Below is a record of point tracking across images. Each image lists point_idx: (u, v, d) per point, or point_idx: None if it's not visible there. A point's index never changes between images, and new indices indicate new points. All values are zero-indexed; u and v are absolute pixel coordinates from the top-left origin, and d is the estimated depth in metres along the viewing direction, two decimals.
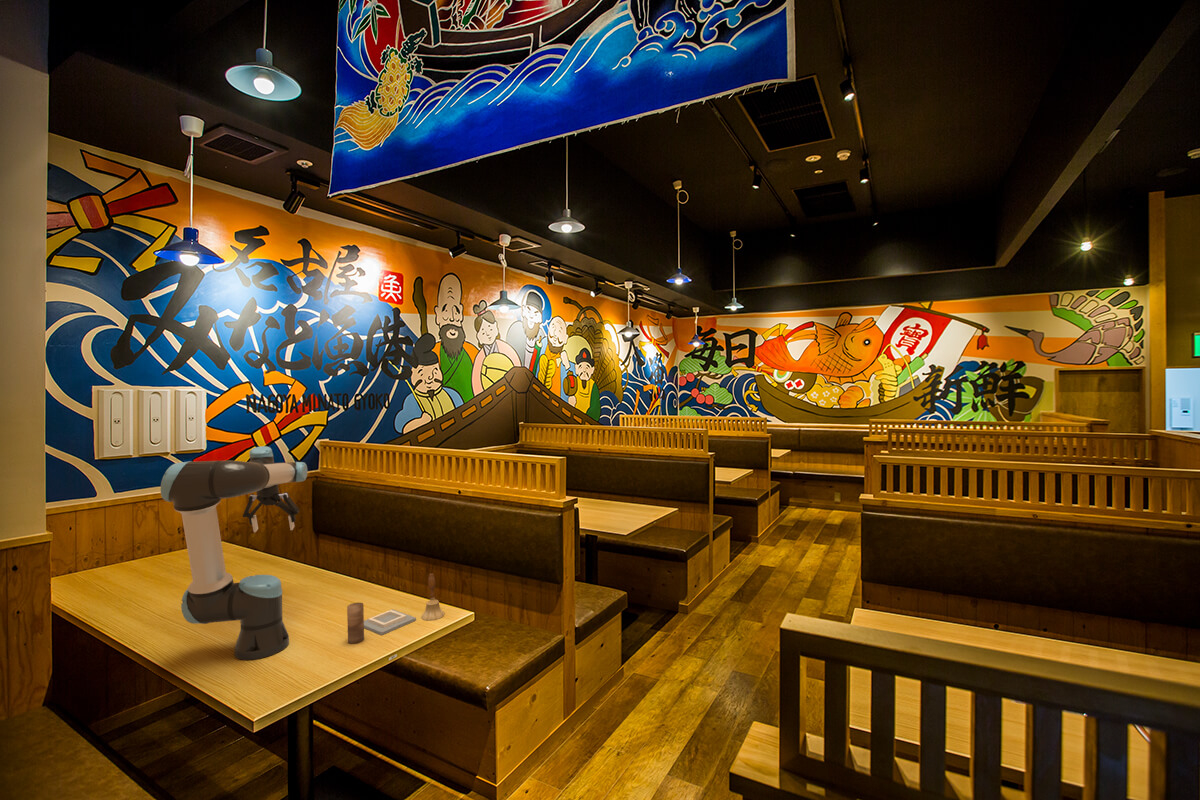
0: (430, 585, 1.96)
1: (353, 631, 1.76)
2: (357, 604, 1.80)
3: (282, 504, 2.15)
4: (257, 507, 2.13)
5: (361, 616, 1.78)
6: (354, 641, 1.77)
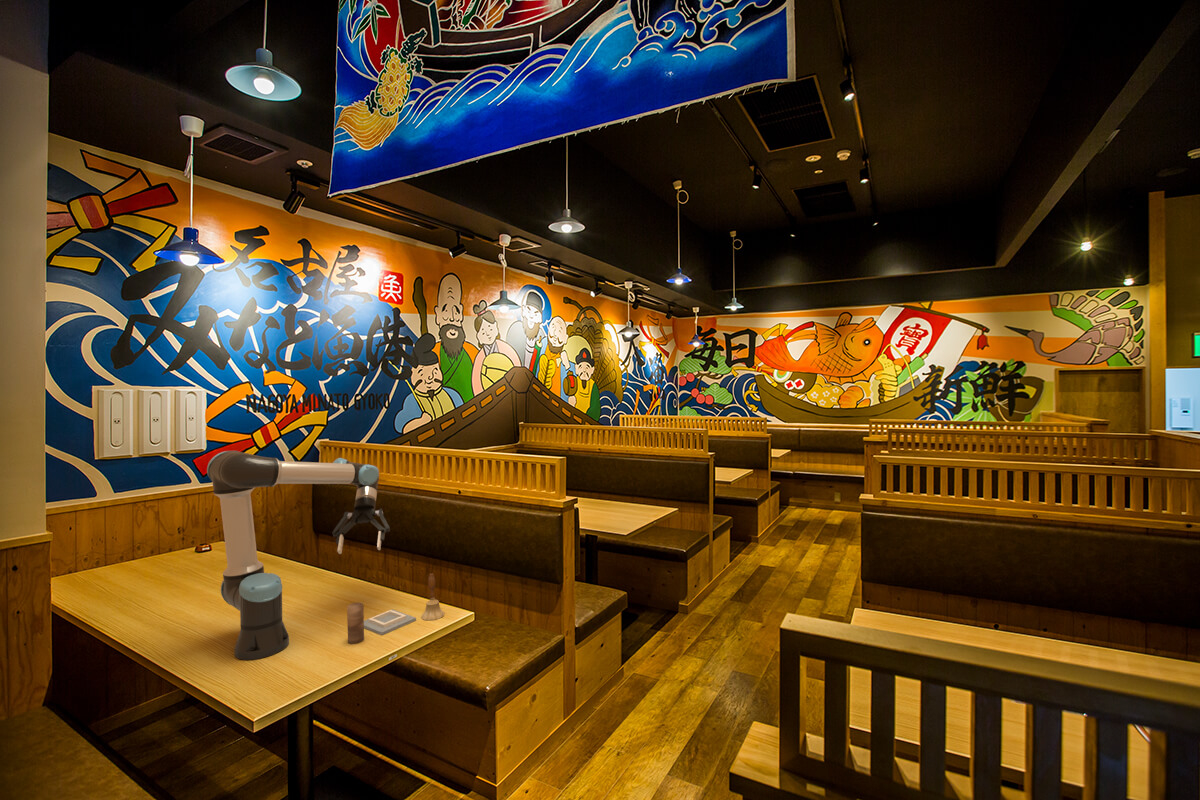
0: (430, 585, 1.96)
1: (353, 631, 1.76)
2: (357, 604, 1.80)
3: (375, 520, 2.04)
4: (350, 522, 2.02)
5: (361, 616, 1.78)
6: (354, 641, 1.77)
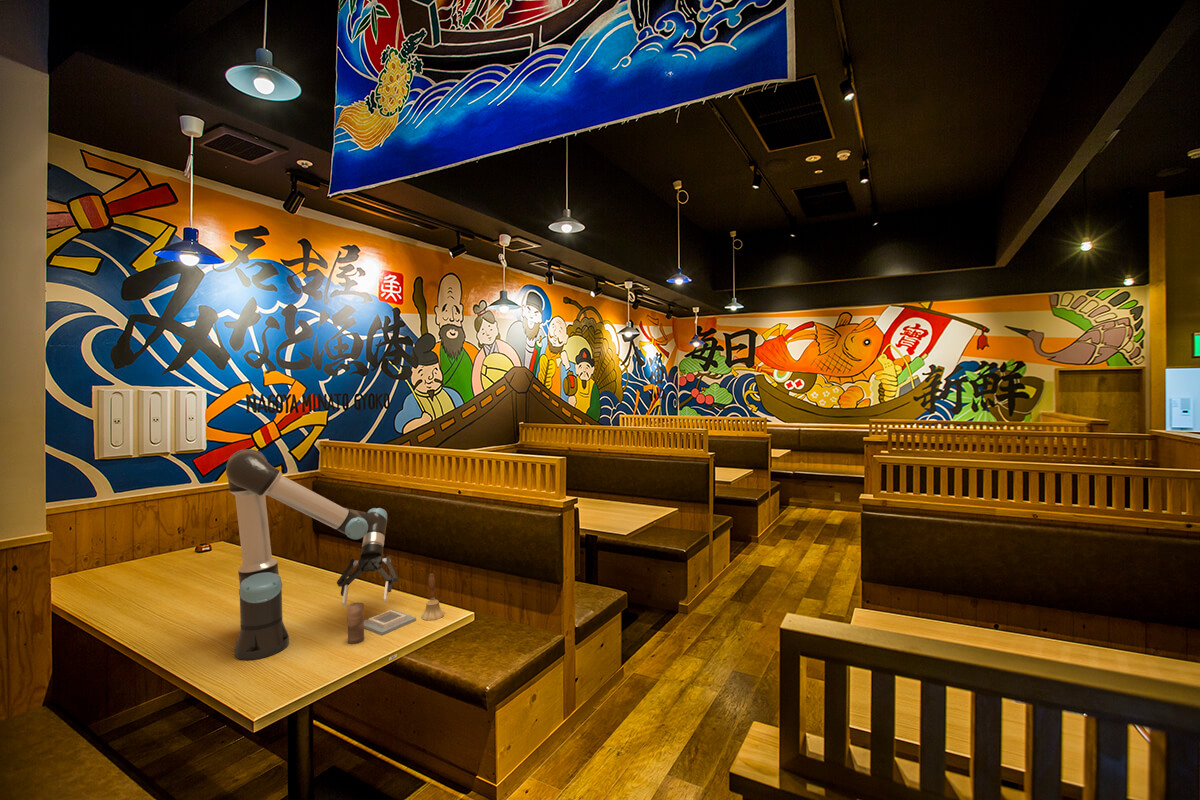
0: (430, 585, 1.96)
1: (353, 631, 1.76)
2: (357, 604, 1.80)
3: (382, 569, 1.94)
4: (356, 571, 1.91)
5: (361, 616, 1.78)
6: (354, 641, 1.77)
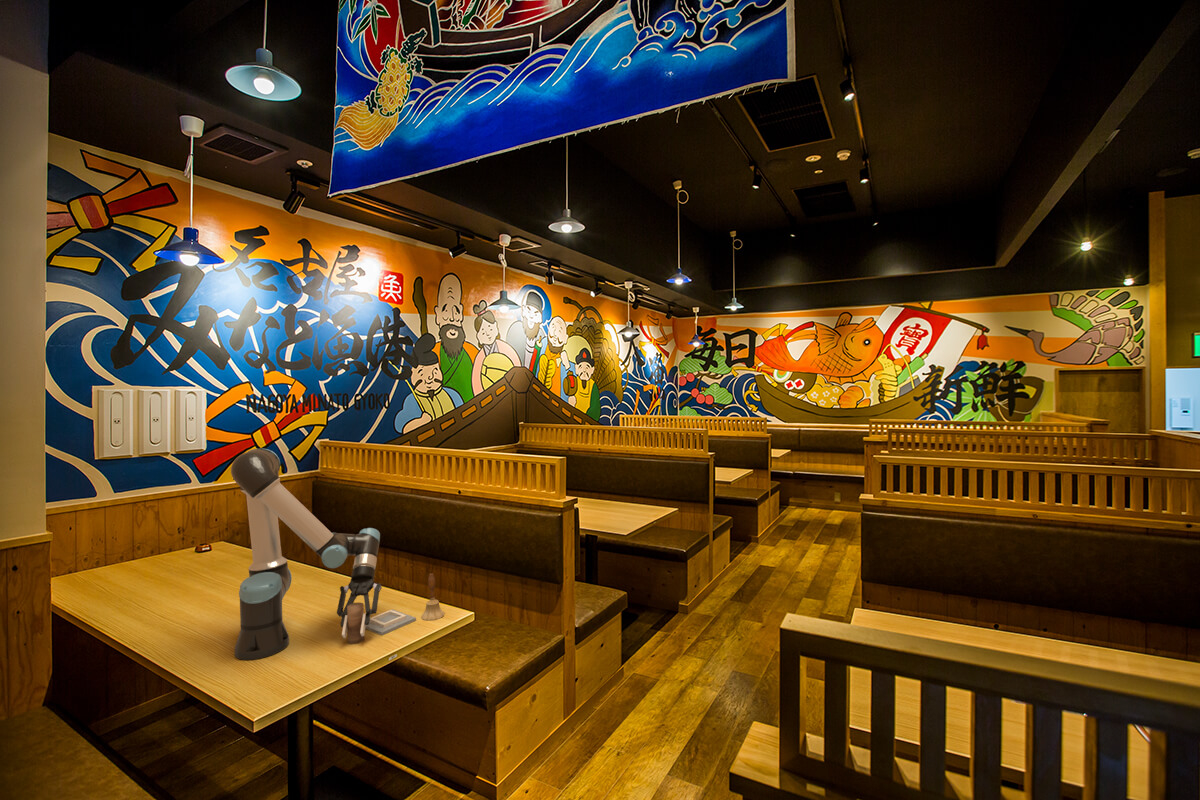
0: (430, 585, 1.96)
1: (353, 631, 1.76)
2: (357, 604, 1.80)
3: (368, 597, 1.84)
4: (350, 597, 1.82)
5: (361, 616, 1.78)
6: (354, 641, 1.77)
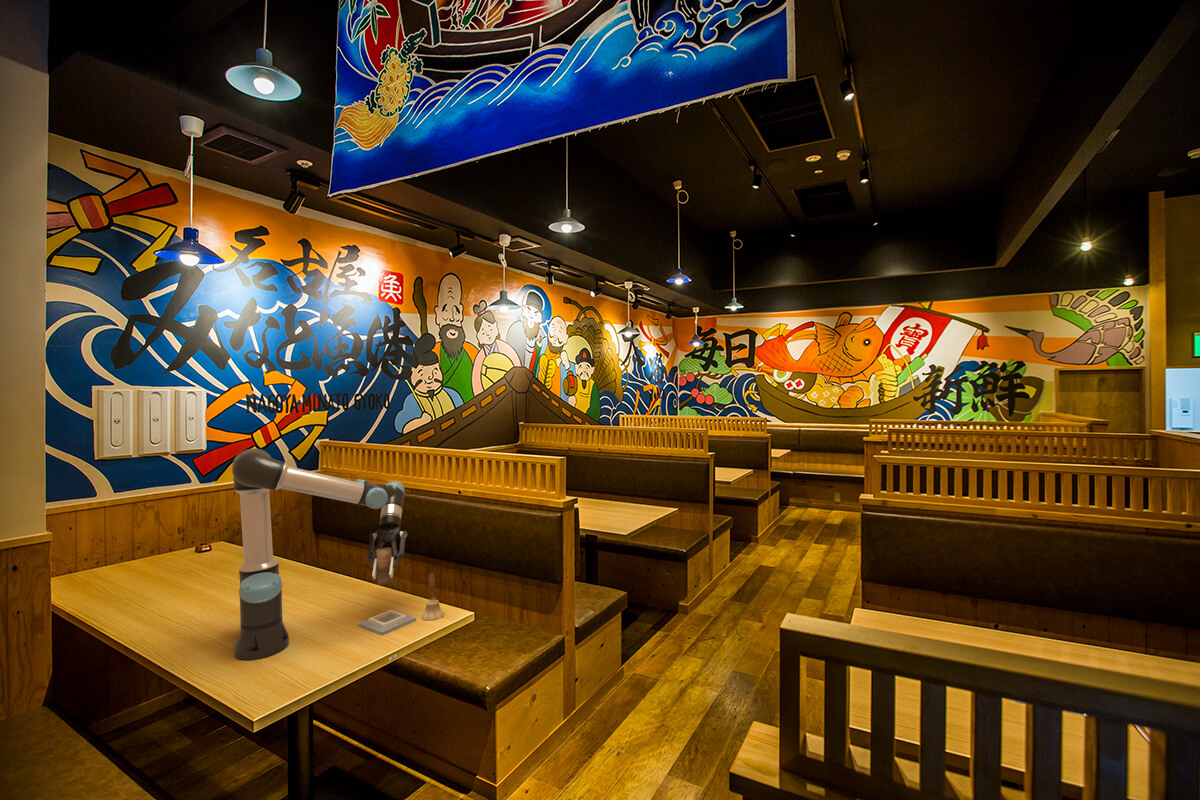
0: (430, 585, 1.96)
1: (382, 573, 1.88)
2: (385, 548, 1.91)
3: (395, 543, 1.96)
4: (379, 543, 1.94)
5: (389, 559, 1.90)
6: (383, 582, 1.88)
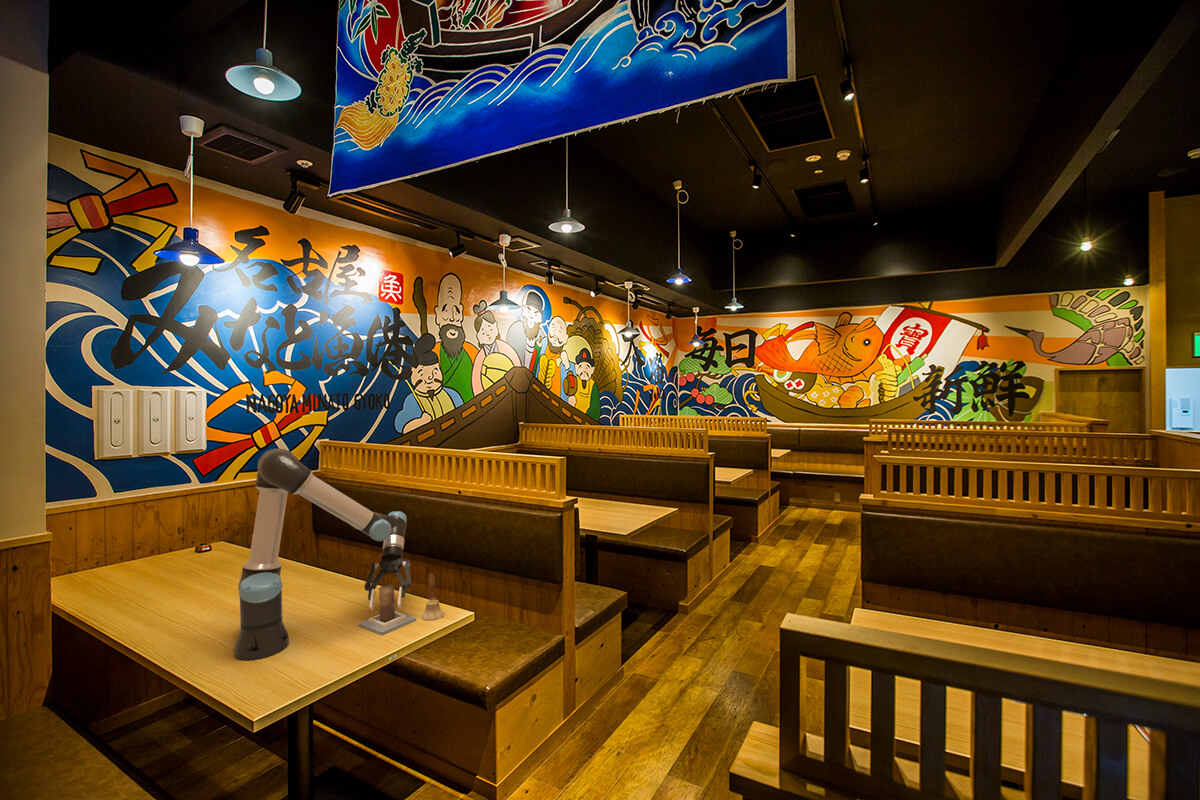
0: (430, 585, 1.96)
1: (385, 611, 1.90)
2: (388, 586, 1.93)
3: None
4: (379, 574, 1.96)
5: (392, 597, 1.91)
6: (386, 620, 1.90)
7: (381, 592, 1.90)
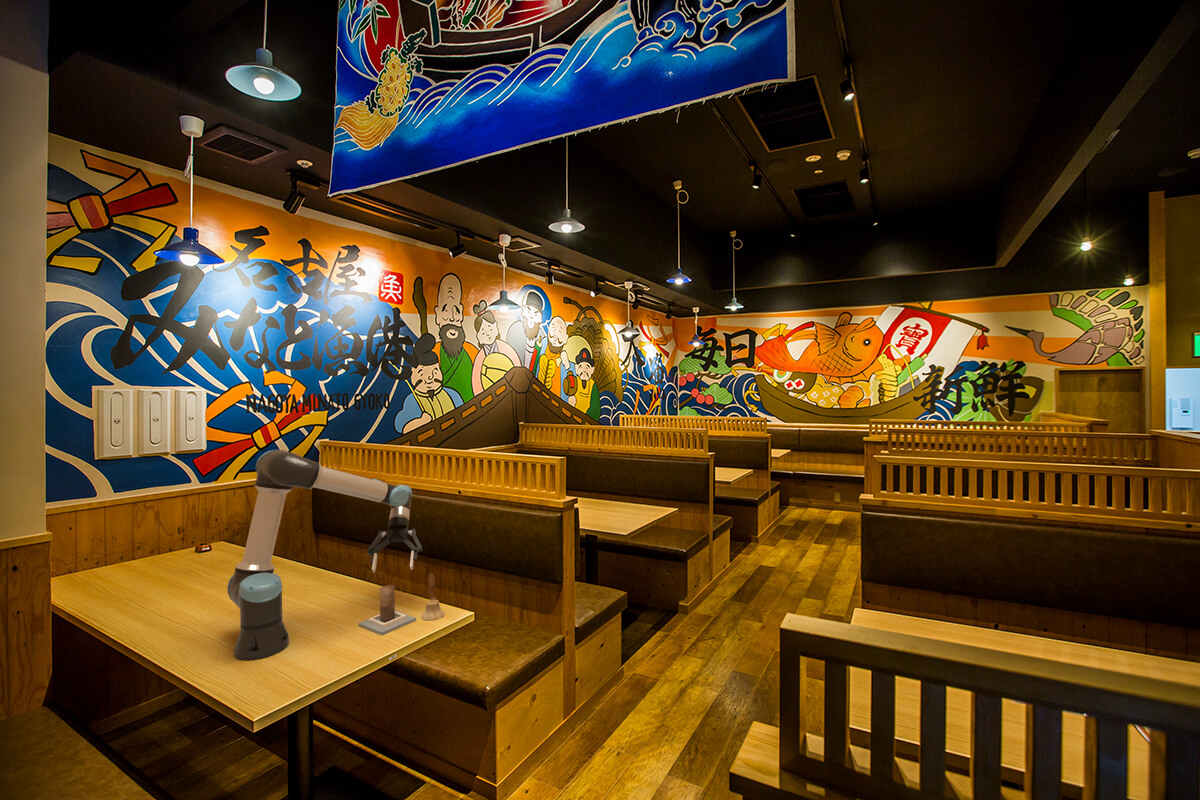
0: (430, 585, 1.96)
1: (385, 611, 1.90)
2: (388, 586, 1.93)
3: None
4: (384, 541, 2.07)
5: (393, 597, 1.91)
6: (386, 620, 1.90)
7: (381, 592, 1.90)
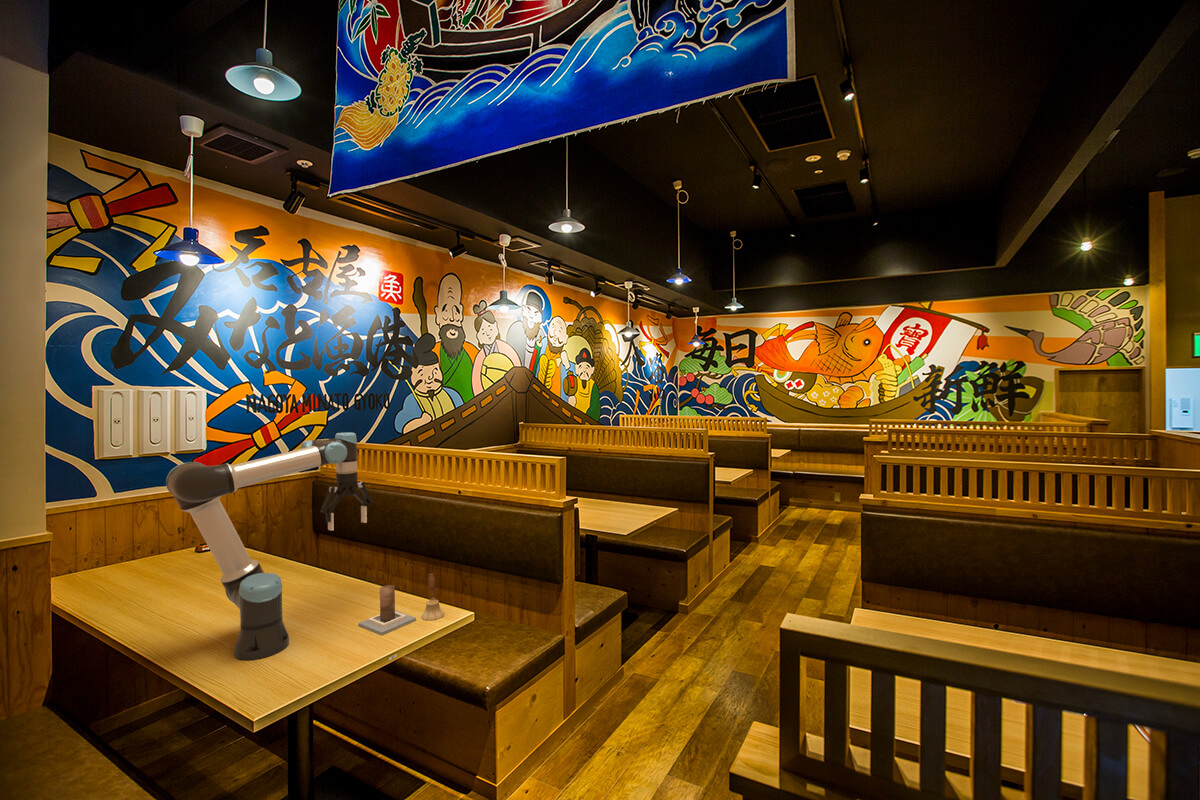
0: (430, 585, 1.96)
1: (385, 611, 1.90)
2: (389, 586, 1.93)
3: None
4: (338, 499, 2.03)
5: (393, 597, 1.91)
6: (386, 620, 1.90)
7: (382, 592, 1.90)
